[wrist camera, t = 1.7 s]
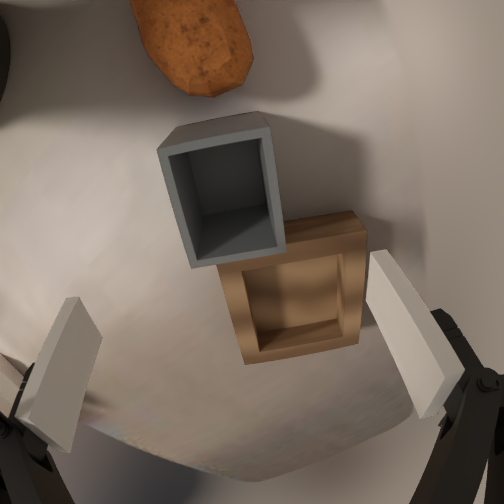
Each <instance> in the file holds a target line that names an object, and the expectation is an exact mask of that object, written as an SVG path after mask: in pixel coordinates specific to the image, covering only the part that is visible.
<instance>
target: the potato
mask: <svg viewBox="0 0 504 504" xmlns="http://www.w3.org/2000/svg"><path fill="white" fill-rule="evenodd" d="M130 3H131V7H132V10H133V13H134V15H135V18H136V21H137V24H138V28H139V32H140V36H141V41H142V43H143V46H144V48H145V50H146V52H147V54H148V56H149V58H150V59H151V60H152V61H153V62H154V63H155V64H156V65H157V67H158V68H159V69H160V70H161V71H162V72H163V73H164V74H165V76H166V77H167V78H168V79H169V80H170V81H171V82H172V84H173V85H174V86H176V87H177V88H179V89H180V90H182V91H184V92H185V93H187V94H188V95H192V96H204V97H216V96H218V95H220V94H222V93H225V92H227V91H229V90H231V89H234V88H236V87H238V86H241V85H242V84H243V83H244V81H245V78H246V76H247V74H248V71H249V69H250V67H251V65H252V62H253V60H254V59H253V54H252V49H251V44H250V39H249V37H248V34H247V32H246V29H245V26H244V24H243V21H242V19H241V16H240V14H239V11H238V9H237V6H236V4H235V1H234V0H130Z"/></svg>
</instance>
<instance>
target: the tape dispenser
mask: <svg viewBox="0 0 504 504" xmlns="http://www.w3.org/2000/svg"><path fill="white" fill-rule="evenodd" d="M23 378H24V377H23V376H22V375H21V374H20V373H19V372H18V371H17V370H16V369H15V368H14V367H13V366H12V365H11V364H10V363H9V362H8V361H7V360H6V359H5V358H4V357H3V356H2V354H1V353H0V411H1V412H2V413H3V414H4V415H5V416H6V417H7V418H8V417H9V414H10V411H11V409H12V406H13V403H14V401H15V398H16V395H17V393H18V391H19V388H20V385H21V383H23V382H22V380H23Z"/></svg>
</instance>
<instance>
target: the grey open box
mask: <svg viewBox="0 0 504 504" xmlns="http://www.w3.org/2000/svg"><path fill="white" fill-rule="evenodd" d="M157 153H158V157H159V161H160V165H161V168H162V172H163V176H164V179H165V183H166V187H167V190H168V194H169V197H170V201H171V204H172V208H173V211H174V214H175V218H176V221H177V225H178V228H179V231H180V235H181V238H182V241H183V244H184V248H185V251H186V254H187V257H188V260H189V263H190V266H191V269H192V268H198V267H204V266H210V265H216V264H222V263H228V262H234V261H240V260H246V259H251V258H257V257H263V256H269V255H275V254H281V253H286V252H287V249H286V241H285V233H284V224H283V216H282V209H281V201H280V193H279V186H278V178H277V171H276V164H275V157H274V150H273V143H272V136H271V129H270V126H269V125H268V123H267V122H266V121H265V119H264V118H263V117H262V115H261V114H260V113H259V111H256V112H250V113H244V114H238V115H232V116H227V117H221V118H216V119H211V120H206V121H201V122H197V123H192V124H188V125H183V126H179V127H176V128H175V129H174V130H173V131H172V132H171V134H170V135H169V136H168V137H167V138H166V139H165V140H164V141H163V143H162V144H161V145H160V146H159V147H158V148H157Z"/></svg>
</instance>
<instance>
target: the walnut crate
mask: <svg viewBox="0 0 504 504" xmlns="http://www.w3.org/2000/svg"><path fill="white" fill-rule="evenodd" d="M283 224H284V233H285V241H286V249H287V252H286V253H281V254H275V255H269V256H263V257H257V258H251V259H246V260H240V261H234V262H228V263H222V264H216V265H217V269H218V272H219V276H220V280H221V283H222V287H223V291H224V294H225V298H226V301H227V305H228V309H229V312H230V316H231V319H232V323H233V326H234V330H235V333H236V336H237V340H238V343H239V347H240V350H241V354H242V357H243V360H244V364H245V365H249V364H255V363H262V362H268V361H274V360H280V359H286V358H292V357H297V356H303V355H308V354H313V353H318V352H323V351H328V350H332V349H337V348H341V347H346V346H350V345H355V344H358V342H359V334H360V325H361V315H362V305H363V294H364V281H365V266H366V247H367V229H366V228H365V227H364V225H363V224H362V223H361V221H360V220H359V219H358V218H357V216H356V215H355V214H354V212H353V211H348V212H342V213H335V214H329V215H323V216H316V217H310V218H304V219H298V220H292V221H286V222H283Z"/></svg>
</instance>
